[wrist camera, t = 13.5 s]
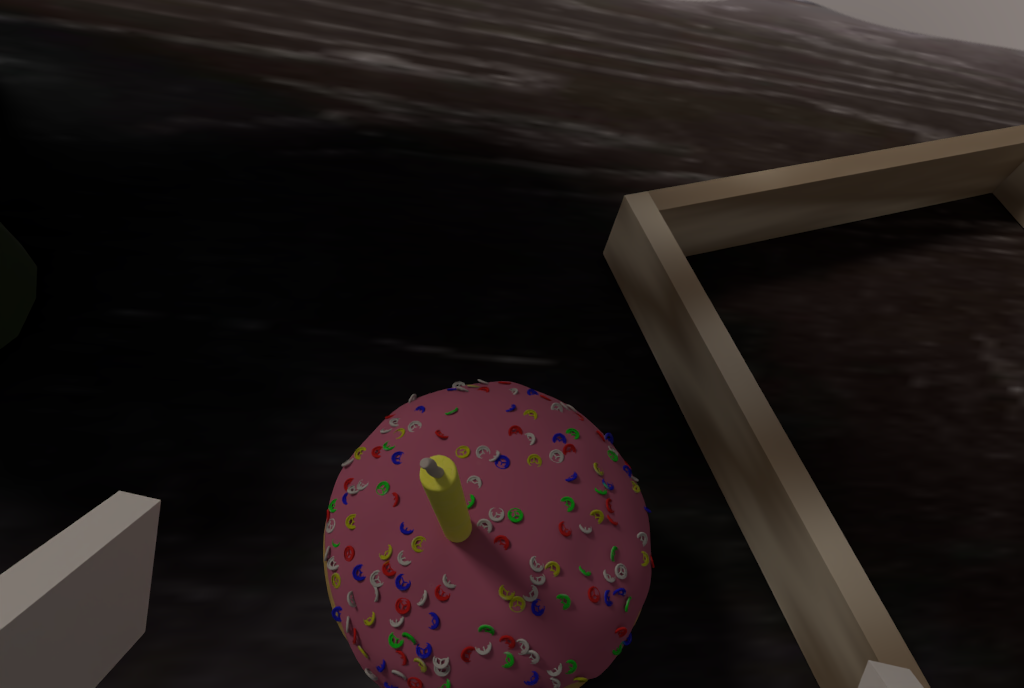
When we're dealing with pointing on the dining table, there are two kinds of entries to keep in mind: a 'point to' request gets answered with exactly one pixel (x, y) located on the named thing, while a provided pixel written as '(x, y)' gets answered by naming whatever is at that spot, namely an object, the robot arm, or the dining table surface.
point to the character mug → (14, 286)
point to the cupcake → (486, 543)
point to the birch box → (735, 393)
